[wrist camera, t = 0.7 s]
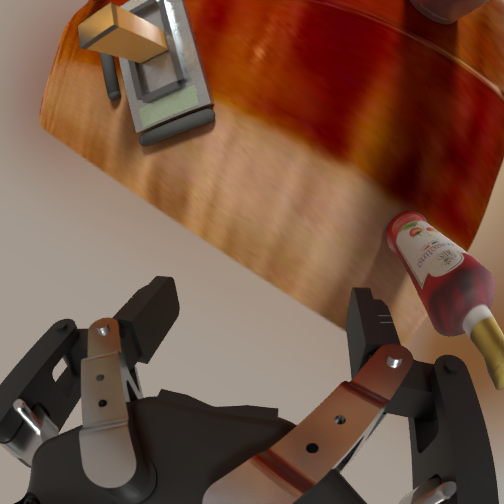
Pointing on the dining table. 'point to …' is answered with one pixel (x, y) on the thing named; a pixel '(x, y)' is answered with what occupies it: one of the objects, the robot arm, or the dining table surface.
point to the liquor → (450, 287)
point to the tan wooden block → (121, 35)
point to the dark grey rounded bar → (177, 127)
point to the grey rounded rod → (110, 76)
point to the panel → (166, 68)
